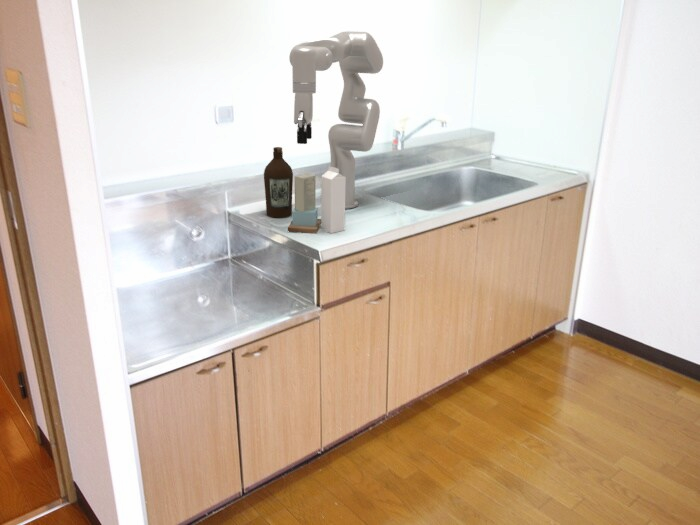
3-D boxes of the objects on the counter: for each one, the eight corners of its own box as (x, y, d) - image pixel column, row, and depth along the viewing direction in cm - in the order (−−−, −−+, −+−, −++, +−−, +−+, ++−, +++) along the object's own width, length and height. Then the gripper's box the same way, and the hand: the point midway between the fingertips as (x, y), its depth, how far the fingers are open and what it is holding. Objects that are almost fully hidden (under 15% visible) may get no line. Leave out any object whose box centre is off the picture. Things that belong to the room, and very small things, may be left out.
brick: (295, 220, 219) (295, 206, 217) (317, 221, 219) (317, 207, 217) (292, 225, 214) (292, 211, 212) (315, 226, 213) (315, 212, 211)
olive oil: (263, 211, 234) (261, 145, 225) (291, 210, 237) (290, 144, 228) (266, 219, 225) (264, 150, 216) (295, 218, 227) (294, 150, 218)
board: (293, 221, 223) (293, 217, 222) (321, 223, 222) (321, 219, 221) (287, 232, 211) (287, 227, 211) (316, 233, 211) (316, 229, 210)
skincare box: (307, 206, 218) (307, 172, 214) (316, 209, 215) (316, 175, 211) (294, 209, 214) (293, 175, 209) (302, 212, 211) (302, 177, 206)
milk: (330, 233, 211) (331, 170, 203) (320, 229, 216) (320, 166, 208) (345, 230, 215) (346, 168, 206) (334, 225, 219) (335, 164, 211)
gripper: (297, 85, 208) (297, 136, 214) (287, 90, 192) (288, 145, 198) (319, 86, 207) (319, 137, 214) (311, 91, 191) (311, 146, 198)
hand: (304, 141), depth 206 cm, fingers open, 9 cm apart
